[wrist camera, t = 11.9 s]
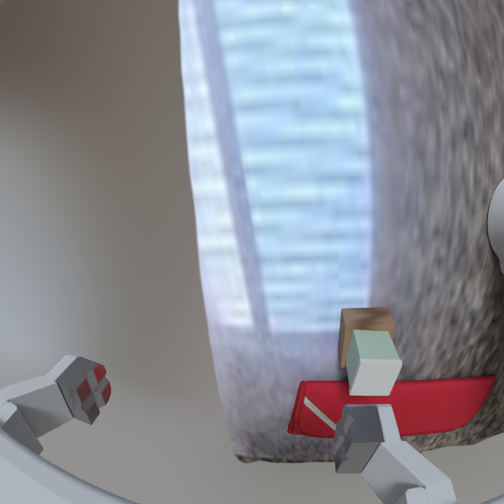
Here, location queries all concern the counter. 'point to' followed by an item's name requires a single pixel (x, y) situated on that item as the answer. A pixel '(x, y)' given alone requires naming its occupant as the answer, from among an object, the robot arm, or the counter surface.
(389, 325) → the walnut block
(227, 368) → the counter surface
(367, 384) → the sage tin
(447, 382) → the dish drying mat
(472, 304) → the counter surface
